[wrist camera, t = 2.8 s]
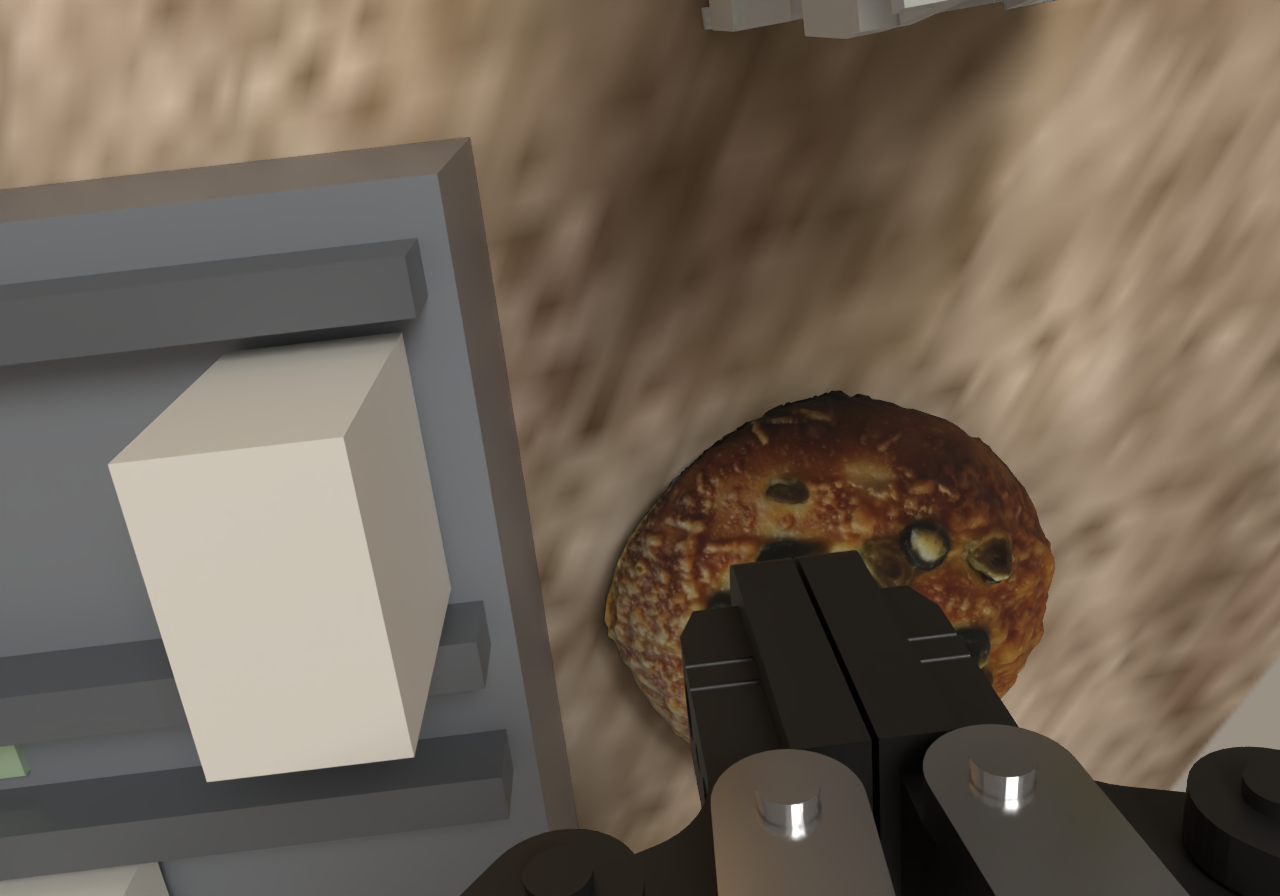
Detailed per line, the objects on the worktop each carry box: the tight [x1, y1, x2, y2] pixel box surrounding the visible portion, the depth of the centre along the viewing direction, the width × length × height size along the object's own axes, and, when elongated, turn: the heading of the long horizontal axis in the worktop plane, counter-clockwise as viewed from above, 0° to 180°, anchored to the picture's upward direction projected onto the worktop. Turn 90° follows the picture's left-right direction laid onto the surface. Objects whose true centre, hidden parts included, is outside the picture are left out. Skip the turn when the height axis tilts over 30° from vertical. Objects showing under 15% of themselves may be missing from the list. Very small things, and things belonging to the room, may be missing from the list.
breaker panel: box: [0, 137, 578, 896], centre depth 23 cm, size 13×20×8 cm, turn 6°
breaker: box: [108, 332, 451, 782], centre depth 17 cm, size 3×5×5 cm, turn 6°
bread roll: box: [605, 391, 1055, 744], centre depth 27 cm, size 11×11×5 cm
